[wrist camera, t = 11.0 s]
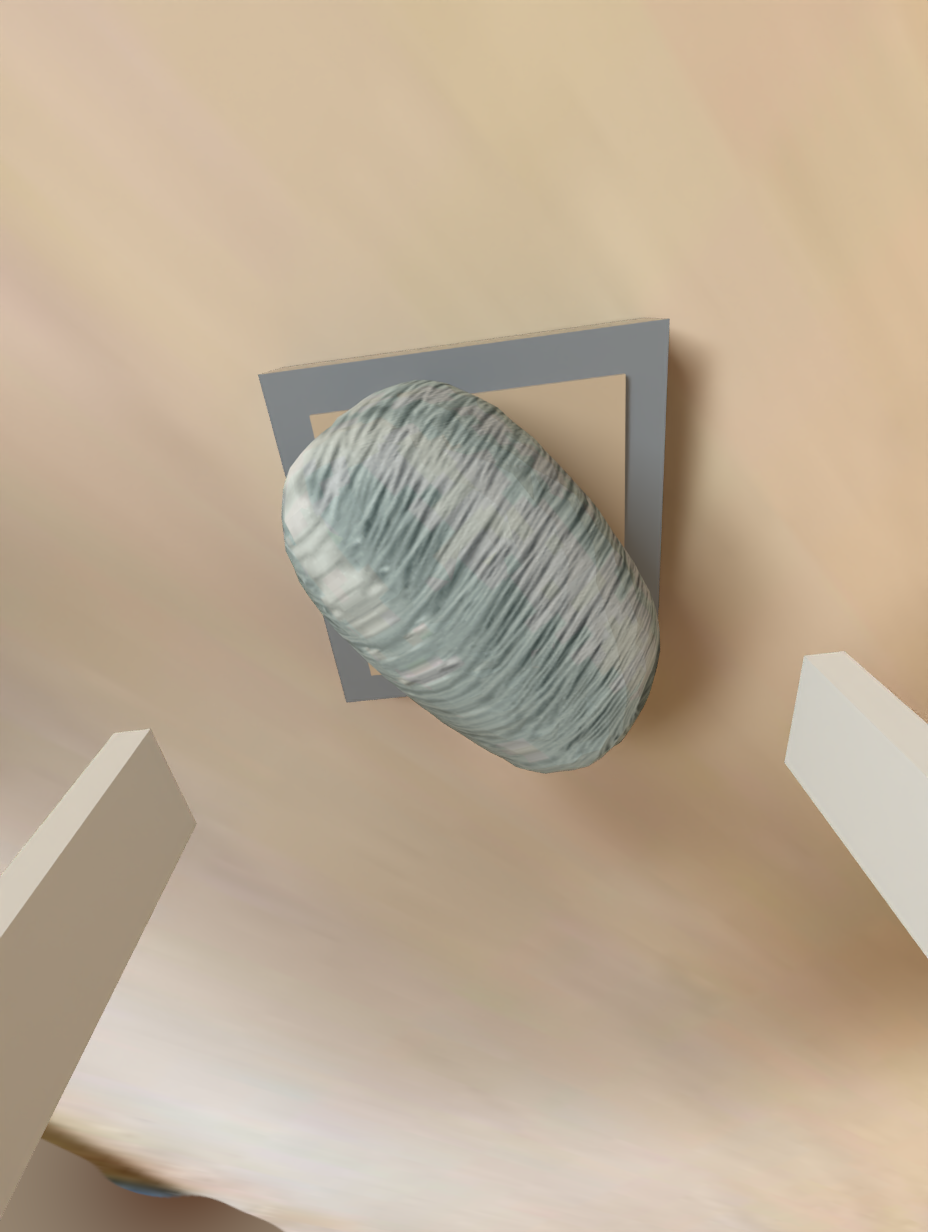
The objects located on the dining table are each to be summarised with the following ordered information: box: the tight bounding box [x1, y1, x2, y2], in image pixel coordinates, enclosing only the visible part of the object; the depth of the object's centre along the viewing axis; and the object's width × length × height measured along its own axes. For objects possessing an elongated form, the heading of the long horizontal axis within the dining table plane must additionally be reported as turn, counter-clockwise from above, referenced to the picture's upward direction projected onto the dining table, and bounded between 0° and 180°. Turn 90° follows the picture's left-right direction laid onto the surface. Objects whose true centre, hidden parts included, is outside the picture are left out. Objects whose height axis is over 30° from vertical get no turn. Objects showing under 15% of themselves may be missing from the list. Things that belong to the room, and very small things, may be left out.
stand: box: [258, 318, 670, 702], centre depth 24 cm, size 14×14×3 cm
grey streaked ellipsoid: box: [282, 380, 660, 774], centre depth 19 cm, size 14×10×10 cm
